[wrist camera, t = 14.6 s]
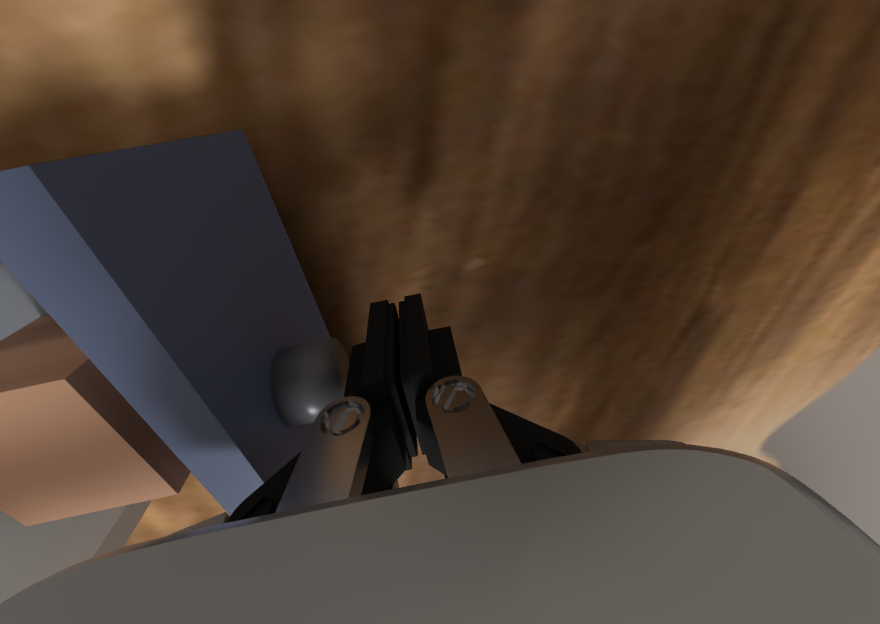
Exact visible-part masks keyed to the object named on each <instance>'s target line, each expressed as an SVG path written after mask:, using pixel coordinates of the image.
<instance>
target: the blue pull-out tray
mask: <svg viewBox="0 0 880 624" xmlns="http://www.w3.org/2000/svg"><path fill="white" fill-rule="evenodd" d="M45 315H50V316H51V317H52V318H53V319H54V320H55V321H56V323H57V324H58V325H59V326H60V327H61V328H62V329H63V330H64V331H65V333H66V334H67V335H68V336H69V337H70V338H71V339H72V340H73V341H74V343H75V344H76V345H77V346H78V347H79V348H80V349H81V350H82V351H83V353H84V354H85V355H86V356H87V357H88V358H89V359H90V360H91V361H92V363H93V364H94V365H95V366H96V367H97V368H98V369H99V370H100V371H101V373H102V374H103V375H104V376H105V377H106V378H107V379H108V380H109V381H110V383H111V384H112V385H113V386H114V387H115V388H116V389H117V390H118V391H119V393H120V394H121V395H122V396H123V397H124V398H125V399H126V400H127V401H128V403H129V404H130V405H131V406H132V407H133V408H134V409H135V410H136V411H137V413H138V414H139V415H140V416H141V417H142V418H143V419H144V420H145V421H146V423H147V424H148V425H149V426H150V427H151V428H152V429H153V430H154V431H155V433H156V434H157V435H158V436H159V437H160V438H161V439H162V440H163V441H164V443H165V444H166V445H167V446H168V447H169V448H170V449H171V450H172V451H173V453H174V454H175V455H176V456H177V457H178V458H179V459H180V460H181V461H182V463H183V464H184V465H185V466H186V467H187V468H188V469H189V470H190V471H191V473H192V474H193V475H194V476H195V477H196V478H197V479H198V480H199V481H200V483H201V484H202V485H203V486H204V487H205V488H206V489H207V490H208V491H209V493H210V494H211V495H212V496H213V497H214V498H215V499H216V500H217V501H218V503H219V504H220V505H221V506H222V507H223V508H224V509H225V510H226V511H227V513H228V514H229V515H232V513H233V512H234V510H235V509H236V508H237V507H238V506H239V505H240V504H241V503H242V502H243V501H244V500H245V499H246V498H247V497H248V496H249V495H251V494H252V493H253V492H254V491H255V490H256V489H258V488H259V487H260V486H261V485H262V484H263V483H265V482H266V481H267V480H268V479H269V478H270V477H272V476H273V475H274V474H275V473H276V472H277V471H279V470H280V469H281V468H282V467H283V466H284V465H286V464H287V463H288V462H289V461H290V460H291V459H293V458H294V457H295V456H296V455H297V454H298V453H300V452H301V451H302V449H303V447H304V444H305V442H306V440H307V437H308V435H309V433H310V430H311V428H312V426H313V423H314V421H315V419H316V417H317V416H318V414H319V412H320V411H321V410H322V409H323V408H324V407H325V406H327V405H328V404H330V403H331V402H333V401H335V400H338V399H340V398H343V397H344V392H345V386H346V380H347V375H348V369H349V359H348V356H347V353H346V351H345V349H344V347H343V345H342V343H341V342H340V341H339V340H338V339H337V338H331V337H330V335H329V332H328V330H327V328H326V325H325V323H324V320H323V318H322V316H321V313H320V311H319V309H318V306H317V304H316V301H315V299H314V297H313V294H312V292H311V290H310V287H309V285H308V282H307V280H306V278H305V275H304V273H303V271H302V268H301V266H300V263H299V261H298V259H297V256H296V254H295V252H294V249H293V247H292V244H291V242H290V240H289V237H288V235H287V233H286V230H285V228H284V225H283V223H282V221H281V218H280V216H279V214H278V211H277V209H276V206H275V204H274V202H273V199H272V197H271V195H270V192H269V190H268V187H267V185H266V183H265V180H264V178H263V176H262V173H261V171H260V168H259V166H258V164H257V161H256V159H255V157H254V154H253V152H252V149H251V147H250V145H249V142H248V140H247V138H246V135H245V133H244V130H243V129H241V130H235V131H229V132H223V133H217V134H211V135H205V136H199V137H193V138H187V139H181V140H175V141H169V142H163V143H157V144H152V145H146V146H140V147H134V148H128V149H122V150H116V151H110V152H104V153H98V154H92V155H86V156H80V157H74V158H68V159H62V160H57V161H51V162H45V163H39V164H33V165H27V166H22V167H18V168H13V169H8V170H3V171H0V341H1V340H3V339H4V338H6V337H8V336H9V335H11V334H13V333H14V332H16V331H18V330H19V329H21V328H23V327H24V326H26V325H28V324H29V323H31V322H33V321H34V320H36V319H38V318H39V317H41V316H45Z"/></svg>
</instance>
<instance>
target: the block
mask: <svg viewBox="0 0 880 624" xmlns="http://www.w3.org/2000/svg"><path fill="white" fill-rule="evenodd" d="M190 472H191V471H190V470H189V469H188V468H187V467H186V466H185V465H184V464H183V463H182V461H181V460H180V459H179V458H178V457H177V456H176V455H175V454H174V453H173V451H172V450H171V449H170V448H169V447H168V446H167V445H166V444H165V443H164V441H163V440H162V439H161V438H160V437H159V436H158V435H157V434H156V433H155V431H154V430H153V429H152V428H151V427H150V426H149V425H148V424H147V423H146V421H145V420H144V419H143V418H142V417H141V416H140V415H139V414H138V413H137V411H136V410H135V409H134V408H133V407H132V406H131V405H130V404H129V403H128V401H127V400H126V399H125V398H124V397H123V396H122V395H121V394H120V393H119V391H118V390H117V389H116V388H115V387H114V386H113V385H112V384H111V383H110V381H109V380H108V379H107V378H106V377H105V376H104V375H103V374H102V373H101V371H100V370H99V369H98V368H97V367H96V366H95V365H94V364H93V363H92V361H91V360H90V359H89V358H88V357H87V356H86V355H85V354H84V353H83V351H82V350H81V349H80V348H79V347H78V346H77V345H76V344H75V343H74V341H73V340H72V339H71V338H70V337H69V336H68V335H67V334H66V333H65V331H64V330H63V329H62V328H61V327H60V326H59V325H58V324H57V323H56V321H55V320H54V319H53V318H52V317H51V316H50V315H45V316H41V317H39V318H38V319H36V320H34V321H33V322H31V323H29V324H28V325H26V326H24V327H23V328H21V329H19V330H18V331H16V332H14V333H13V334H11V335H9V336H8V337H6V338H4V339H3V340H1V341H0V510H2V511H3V512H5V513H6V514H8V515H9V516H11V517H12V518H14V519H15V520H17V521H18V522H20V523H21V524H23V525H24V526H30V525H35V524H40V523H44V522H49V521H54V520H58V519H63V518H68V517H73V516H77V515H82V514H87V513H92V512H96V511H101V510H106V509H111V508H115V507H120V506H125V505H129V504H134V503H139V502H144V501H148V500H153V499H158V498H163V497H167V496H172V495H177V494H178V493H179V492H180V490H181V488H182V486H183V484H184V483H185V481H186V479H187V477H188V476H189V474H190Z"/></svg>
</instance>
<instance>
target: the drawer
mask: <svg viewBox="0 0 880 624" xmlns="http://www.w3.org/2000/svg"><path fill="white" fill-rule="evenodd" d="M151 501H152V500H148V501H144V502H139V503H134V504H129V505H125V506H120V507H115V508H111V509H106V510H101V511H96V512H92V513H87V514H82V515H77V516H73V517H68V518H63V519H58V520H54V521H49V522H44V523H40V524H35V525H30V526H24V525H23V524H21V523H20V522H18V521H17V520H15V519H14V518H12V517H11V516H9V515H8V514H6V513H5V512H3V511H2V510H0V604H1V603H3V602H4V601H6V600H7V599H9V598H11V597H12V596H14V595H16V594H17V593H19V592H21V591H22V590H24V589H26V588H28V587H30V586H32V585H33V584H35V583H37V582H39V581H41V580H43V579H45V578H47V577H49V576H51V575H53V574H55V573H57V572H58V571H61V570H63V569H66V568H68V567H70V566H73V565H75V564H78V563H80V562H83V561H85V560H87V559H90V558H93V557H95V556H99V555H102V554H105V553H108V552H111V551H114V550H117V549H120V548H123V547H124V545H125V543H126V542H127V540H128V538H129V537H130V535H131V534H132V532H133V530H134V529H135V527H136V525H137V524H138V522H139V521H140V519H141V517H142V516H143V514H144V512H145V511H146V509H147V508H148V506H149V504H150V503H151Z"/></svg>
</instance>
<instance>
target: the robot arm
mask: <svg viewBox="0 0 880 624" xmlns="http://www.w3.org/2000/svg"><path fill="white" fill-rule="evenodd" d="M404 300H405V301H401V302H399V317H398V313H397V310H396V306H395V303H391V304H389V303H388V300H384V301H379V302H374V303H371V304H370V312H369V320H368V328H367V336H366V343H362V344H357V345H354V346H353V347H352V352H351V358H350V363H349V369H348V375H347V380H346V386H345V392H344V397H343V398H340V399H338V400H335V401H333V402H331V403H330V404H328V405H327V406H325V407H324V408H323V409H322V410H321V411H320V412H319V414H318V416H317V417H316V419H315V421H314V423H313V426H312V428H311V430H310V433H309V435H308V437H307V440H306V442H305V444H304V447H303V449H302V451H301V452H300V453H298V454H297V455H296V456H295V457H294V458H293V459H291V460H290V461H289V462H288V463H287V464H286V465H284V466H283V467H282V468H281V469H280V470H279V471H277V472H276V473H275V474H274V475H273V476H272V477H270V478H269V479H268V480H267V481H266V482H265V483H263V484H262V485H261V486H260V487H259V488H258V489H256V490H255V491H254V492H253V493H252V494H251V495H249V496H248V497H247V498H246V499H245V500H244V501H243V502H242V503H241V504H240V505H239V506H238V507H237V508H236V509H235V510H234V512H233V513H232V515H230V516H229V515H228V514H227V513H226V512H224V513H222V514H219V515H217V516H214V517H212V518H209V519H207V520H204V521H202V522H200V523H197V524H195V525H192V526H190V527H187V528H185V529H182V530H180V531H177V532H175V533H173V534H170V535H168V536H165V537H161V538H157V539H153V540H150V541H146V542H142V543H138V544H134V545H130V546H127V547H123V548H120V549H117V550H114V551H111V552H108V553H105V554H102V555H99V556H95V557H93V558H90V559H87V560H85V561H83V562H80V563H78V564H75V565H73V566H70V567H68V568H66V569H63V570H61V571H58V572H57V573H55V574H53V575H51V576H49V577H47V578H45V579H43V580H41V581H39V582H37V583H35V584H33V585H32V586H30V587H28V588H26V589H24V590H22V591H21V592H19V593H17V594H16V595H14V596H12V597H11V598H9V599H7V600H6V601H4V602H3V603H1V604H0V624H880V545H879V544H877V543H876V542H875V541H874V540H873V539H871V538H870V537H869V536H868V535H867V534H866V533H865V532H863V531H862V530H861V529H860V528H859V527H858V526H856V525H855V524H854V523H853V522H852V521H851V520H849V519H848V518H847V517H846V516H844V515H843V514H842V513H841V512H839V511H838V510H837V509H836V508H834V507H833V506H832V505H831V504H829V503H828V502H827V501H826V500H825V499H823V498H822V497H821V496H820V495H818V494H817V493H815V492H814V491H813V490H812V489H810V488H809V487H807V486H806V485H805V484H803V483H802V482H800V481H799V480H797V479H796V478H794V477H793V476H791V475H790V474H788V473H787V472H785V471H783V470H781V469H779V468H777V467H775V466H774V465H772V464H770V463H767V462H765V461H762V460H760V459H757V458H755V457H752V456H748V455H745V454H741V453H738V452H733V451H729V450H724V449H719V448H712V447H704V446H697V445H690V444H685V443H682V442H677V441H670V440H587V441H586V444H575V443H574V442H573V441H571V440H569V439H568V438H566V437H564V436H562V435H560V434H558V433H555V432H553V431H551V430H549V429H546V428H544V427H542V426H540V425H537V424H535V423H533V422H531V421H528V420H526V419H524V418H522V417H519V416H517V415H515V414H512V413H510V412H508V411H506V410H503V409H501V408H499V407H497V406H494V405H492V404H490V403H489V402H488V400H487V398H486V396H485V394H484V393H483V391H482V389H481V387H480V386H479V385H478V383H477V382H476V381H474V380H473V379H471V378H468V377H465V376H462V373H461V369H460V365H459V361H458V357H457V353H456V349H455V345H454V341H453V336H452V332H451V328H450V326H449V327H444V328H438V329H433V330H428V325H427V321H426V316H425V311H424V307H423V302H422V298H421V294H415V295H410V296H405V297H404ZM417 437H418V440H419V444H420V447H421V451H422V454H423V455H425V454H426V456H427V459H428V463H429V465H430V466H432V467H433V468H435V469H437V470H438V471H440V472H441V473H443V474H444V476H445V479H441V480H436V481H431V482H426V483H421V484H416V485H411V486H406V487H401V488H399V483H398V480H397V479H398V478H399V477H400V476H401V475H402V473H403V472H404V471H405V470H410V469H412V459H411V457H415V456H417V455H418V450H417Z"/></svg>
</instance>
